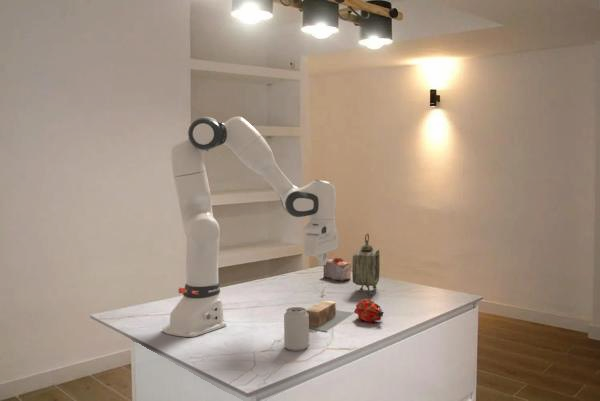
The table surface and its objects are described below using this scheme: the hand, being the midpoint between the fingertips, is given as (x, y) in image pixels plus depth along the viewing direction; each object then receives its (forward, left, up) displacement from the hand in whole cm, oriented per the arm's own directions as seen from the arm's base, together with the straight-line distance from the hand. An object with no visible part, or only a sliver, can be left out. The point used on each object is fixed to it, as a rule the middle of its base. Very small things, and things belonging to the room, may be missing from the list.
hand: (321, 265), depth 198 cm
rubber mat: (0, 0, -20) cm, 20 cm away
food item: (+62, +22, -20) cm, 68 cm away
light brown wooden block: (+6, 0, -17) cm, 18 cm away
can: (-29, -5, -20) cm, 35 cm away
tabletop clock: (+44, +1, -20) cm, 48 cm away
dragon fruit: (+6, -16, -20) cm, 26 cm away
